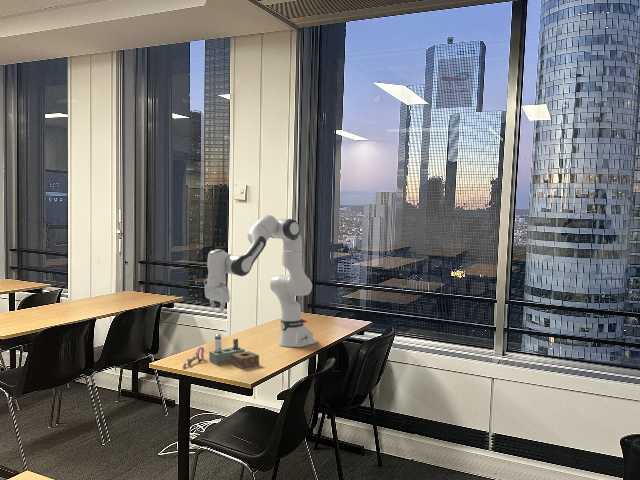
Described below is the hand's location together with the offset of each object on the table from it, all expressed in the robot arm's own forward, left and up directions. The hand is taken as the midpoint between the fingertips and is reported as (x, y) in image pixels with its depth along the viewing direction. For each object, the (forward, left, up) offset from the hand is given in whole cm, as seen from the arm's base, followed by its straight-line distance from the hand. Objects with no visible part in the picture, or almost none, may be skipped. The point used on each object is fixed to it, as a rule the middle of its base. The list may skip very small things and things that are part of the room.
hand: (217, 309), depth 273 cm
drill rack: (-5, 0, -27) cm, 27 cm away
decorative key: (+12, -5, -27) cm, 30 cm away
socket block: (-8, +13, -27) cm, 31 cm away
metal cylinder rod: (0, 0, -27) cm, 27 cm away
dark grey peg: (-10, 0, -27) cm, 29 cm away
